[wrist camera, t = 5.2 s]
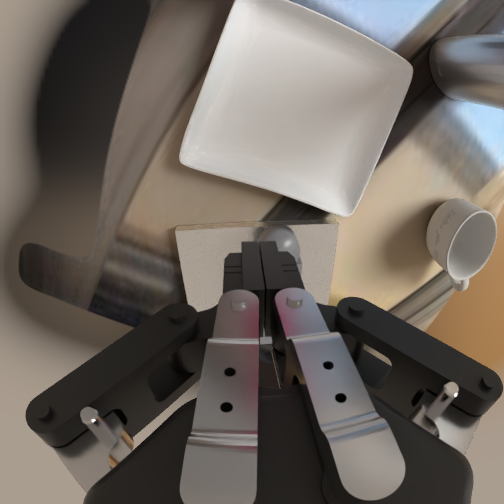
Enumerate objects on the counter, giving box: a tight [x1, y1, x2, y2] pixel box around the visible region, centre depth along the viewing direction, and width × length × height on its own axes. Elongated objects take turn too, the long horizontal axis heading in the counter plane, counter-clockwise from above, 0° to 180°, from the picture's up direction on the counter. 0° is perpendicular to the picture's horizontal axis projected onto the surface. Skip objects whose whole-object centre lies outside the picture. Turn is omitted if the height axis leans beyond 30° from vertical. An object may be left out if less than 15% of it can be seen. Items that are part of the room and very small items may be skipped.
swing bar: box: [258, 225, 302, 344], centre depth 36 cm, size 16×5×2 cm, turn 2°
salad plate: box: [179, 0, 413, 217], centre depth 28 cm, size 21×21×3 cm
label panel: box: [175, 219, 339, 312], centre depth 39 cm, size 20×15×3 cm
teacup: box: [426, 198, 497, 291], centre depth 35 cm, size 14×11×8 cm
